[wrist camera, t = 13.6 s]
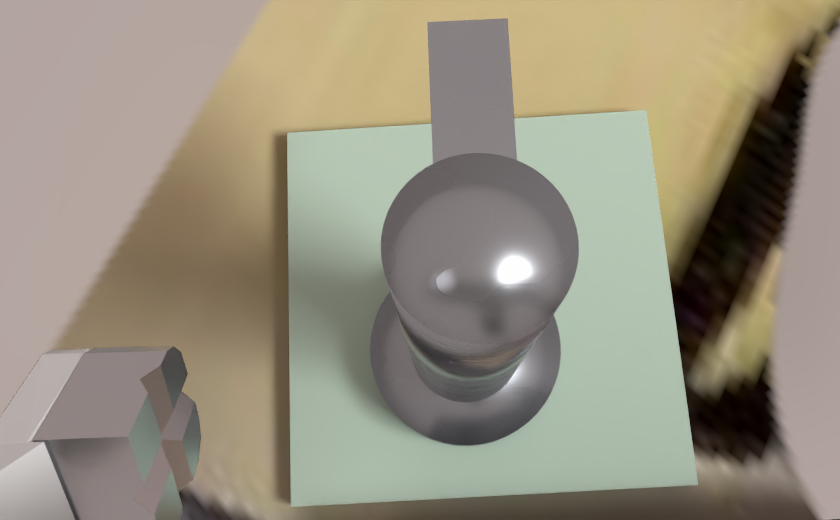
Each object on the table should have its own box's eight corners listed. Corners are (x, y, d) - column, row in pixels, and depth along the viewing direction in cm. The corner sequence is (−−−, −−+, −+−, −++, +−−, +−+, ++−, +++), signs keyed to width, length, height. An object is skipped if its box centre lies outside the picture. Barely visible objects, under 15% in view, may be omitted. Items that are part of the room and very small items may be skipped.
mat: (641, 117, 27) (646, 109, 26) (692, 484, 24) (698, 484, 23) (290, 140, 27) (286, 132, 26) (294, 506, 24) (290, 507, 23)
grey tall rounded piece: (545, 223, 25) (627, 12, 14) (562, 443, 24) (674, 415, 12) (371, 230, 25) (308, 27, 14) (375, 449, 24) (305, 427, 12)
